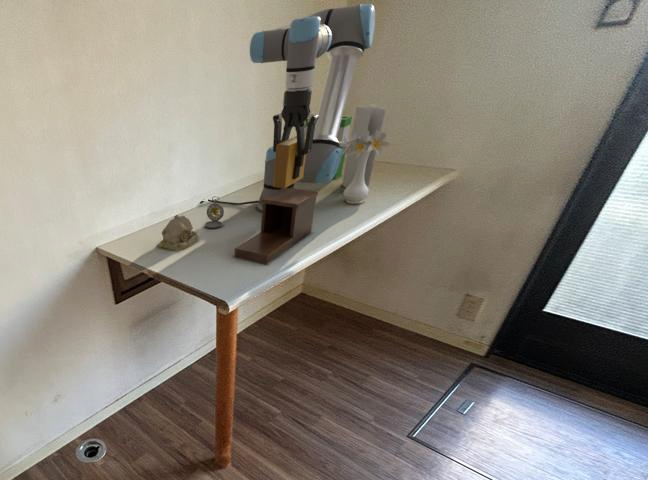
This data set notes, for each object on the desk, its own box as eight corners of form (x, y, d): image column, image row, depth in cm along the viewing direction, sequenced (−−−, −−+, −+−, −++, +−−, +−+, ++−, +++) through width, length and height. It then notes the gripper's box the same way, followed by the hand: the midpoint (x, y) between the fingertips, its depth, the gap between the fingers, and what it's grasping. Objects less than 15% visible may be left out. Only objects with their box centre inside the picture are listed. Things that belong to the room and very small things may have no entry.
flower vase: (338, 194, 175) (351, 126, 160) (382, 201, 164) (401, 128, 148) (322, 202, 169) (333, 133, 154) (366, 210, 158) (383, 136, 142)
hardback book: (298, 176, 202) (305, 119, 187) (305, 172, 206) (312, 116, 191) (335, 179, 192) (345, 119, 177) (341, 175, 196) (352, 116, 181)
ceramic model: (172, 253, 144) (171, 224, 138) (153, 245, 151) (151, 217, 145) (203, 241, 150) (202, 213, 143) (183, 233, 157) (182, 206, 151)
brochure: (367, 192, 173) (386, 108, 154) (353, 193, 174) (371, 110, 155) (354, 183, 184) (371, 104, 166) (342, 184, 185) (356, 105, 166)
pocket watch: (208, 230, 157) (208, 203, 151) (200, 223, 164) (200, 197, 157) (228, 226, 158) (229, 199, 152) (219, 220, 165) (220, 193, 159)
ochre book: (273, 187, 131) (276, 144, 123) (291, 176, 137) (296, 135, 129) (284, 188, 128) (288, 145, 121) (303, 177, 135) (308, 136, 127)
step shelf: (233, 256, 137) (235, 213, 128) (279, 227, 153) (283, 187, 144) (267, 264, 130) (271, 220, 121) (311, 233, 146) (318, 191, 137)
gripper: (264, 91, 120) (258, 177, 135) (321, 90, 110) (308, 183, 125) (277, 87, 124) (270, 171, 139) (333, 86, 114) (320, 176, 129)
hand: (288, 176), depth 132 cm, fingers closed on ochre book, 4 cm apart
